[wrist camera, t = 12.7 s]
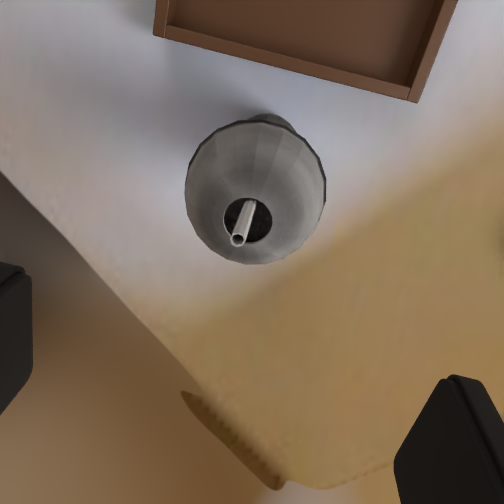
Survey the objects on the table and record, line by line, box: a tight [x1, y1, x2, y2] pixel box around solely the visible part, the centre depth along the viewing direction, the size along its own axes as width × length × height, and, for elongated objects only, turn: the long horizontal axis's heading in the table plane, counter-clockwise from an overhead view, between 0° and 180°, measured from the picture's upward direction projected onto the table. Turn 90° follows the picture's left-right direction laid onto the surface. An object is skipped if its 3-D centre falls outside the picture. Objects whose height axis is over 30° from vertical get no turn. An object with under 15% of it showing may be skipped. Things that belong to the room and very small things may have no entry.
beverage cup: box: [185, 114, 326, 264], centre depth 23 cm, size 7×7×20 cm
